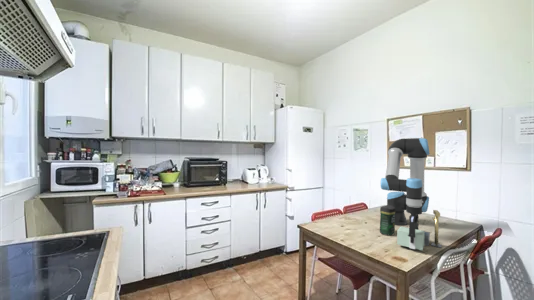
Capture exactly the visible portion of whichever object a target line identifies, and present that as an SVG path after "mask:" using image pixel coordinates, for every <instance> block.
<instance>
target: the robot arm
mask: <svg viewBox="0 0 534 300" xmlns="http://www.w3.org/2000/svg"><path fill="white" fill-rule="evenodd" d="M387 155H388V158H387V165H386V170H385V177H382V178H381V179H380V188H381V190H384V191H390V192H388V193H387V195H386V205H391V206H394V207H395V226H406V225H407V224H408V220H407V218H406V214H405V211H406V213H408V214H410V215H409V218H408V219H409V226H408V228H409V235H408V236H409V247H408V248H409V249H412V250H416V249H415V229H417V230H420V229H419V219H420V218H419V215H422V213H427V211H428V209H429V202H430V197H429V196H427V195H428V194H427V193H426V192H425V160H426V159H427V158H428V156H429V155H431V154H430V147H429V140H428V139H427V138H424V137H413V138H411V137H410V138H399V139H397V140H395V141H393V142H392V143H391V144H390V146H389V147H388V149H387ZM403 155H407V158H408V159H409V178H407V179H403V178H402V179H401V178H399V177H400V168H401V167H400V166H401V161H402V160H401V159H402V156H403ZM411 234H412V235H411Z"/></svg>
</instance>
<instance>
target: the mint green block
mask: <svg viewBox="0 0 534 300" xmlns="http://www.w3.org/2000/svg"><path fill="white" fill-rule="evenodd" d="M396 231H397V232H396V233H397V234H396V239H397V240H396V244H397V245H398V246H403V247H407V248H409V236H408V235H409V227H405V226H402V225H399V228H398V229H397V230H396ZM424 231H425V230H421V229H418V230H417V229H415V249H414V250H419V251H423V250H424V247H425V245H424ZM411 235H412V234H411Z"/></svg>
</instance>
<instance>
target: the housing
mask: <svg viewBox="0 0 534 300" xmlns="http://www.w3.org/2000/svg"><path fill="white" fill-rule="evenodd" d="M423 231H424V246H427V247H429V245H430V243H431V245H430V247H434V248H438V249H442V244H440V243H438V245H436V244H435V242H431V241H430V240H431V238H430V237H431V236H430V235H431V233H430V232H429V231H425V230H423Z"/></svg>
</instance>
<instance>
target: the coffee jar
mask: <svg viewBox="0 0 534 300" xmlns="http://www.w3.org/2000/svg"><path fill="white" fill-rule="evenodd" d="M379 213H380V214H379V215H380V220H379V221H380V223H379V233H380V234H382V235H385V236H393V235H394V234H396V229H395V228H396V227H395V226H396V225H395V207H394V206H391V205H387V204H386V205H383V206H380V209H379Z"/></svg>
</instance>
